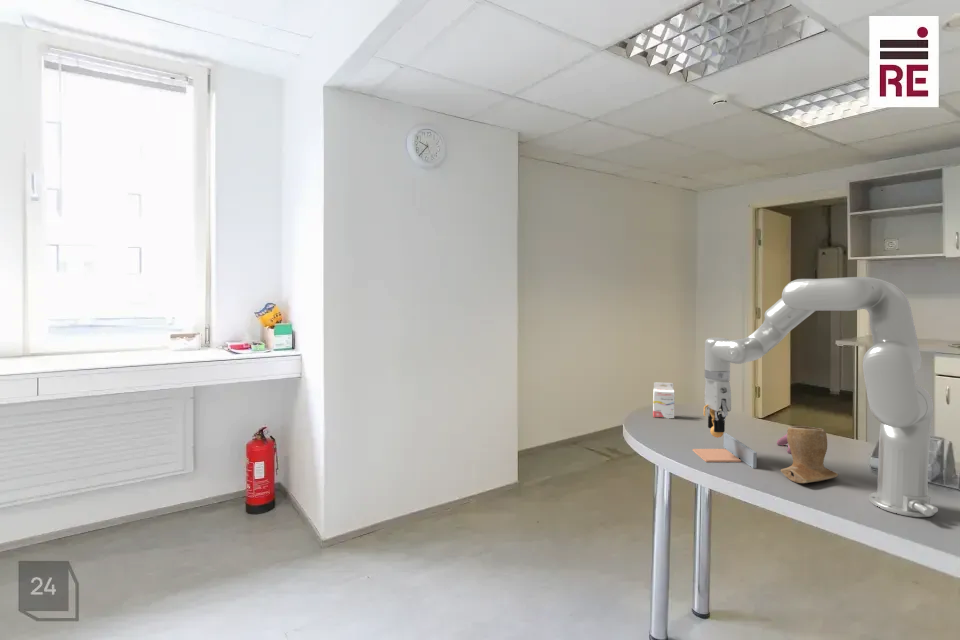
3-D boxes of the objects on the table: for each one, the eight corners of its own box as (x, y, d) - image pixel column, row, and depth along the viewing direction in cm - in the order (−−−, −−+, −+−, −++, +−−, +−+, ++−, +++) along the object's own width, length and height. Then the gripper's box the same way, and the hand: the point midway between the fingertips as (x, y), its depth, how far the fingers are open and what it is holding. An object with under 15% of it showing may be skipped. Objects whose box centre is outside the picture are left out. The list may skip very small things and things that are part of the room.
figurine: (710, 440, 158) (711, 404, 157) (697, 434, 164) (698, 399, 162) (731, 438, 160) (733, 402, 159) (718, 432, 166) (720, 397, 164)
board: (741, 462, 155) (741, 460, 155) (706, 462, 156) (706, 460, 156) (725, 450, 166) (725, 448, 166) (692, 450, 167) (692, 448, 167)
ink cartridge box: (653, 417, 209) (653, 384, 208) (652, 414, 213) (653, 381, 212) (674, 419, 206) (674, 384, 205) (673, 416, 211) (674, 382, 210)
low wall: (756, 468, 150) (756, 452, 149) (753, 468, 150) (753, 452, 149) (726, 447, 170) (726, 433, 169) (723, 447, 170) (723, 433, 169)
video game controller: (800, 459, 161) (811, 441, 160) (786, 452, 162) (797, 434, 161) (787, 449, 171) (797, 432, 170) (774, 443, 171) (784, 426, 170)
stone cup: (805, 466, 150) (806, 419, 149) (844, 481, 139) (846, 430, 138) (768, 473, 146) (769, 424, 145) (805, 489, 134) (807, 436, 133)
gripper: (741, 380, 151) (740, 437, 152) (717, 370, 167) (716, 422, 169) (716, 380, 151) (715, 437, 152) (695, 370, 168) (694, 422, 169)
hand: (716, 429), depth 160 cm, fingers closed on figurine, 3 cm apart
